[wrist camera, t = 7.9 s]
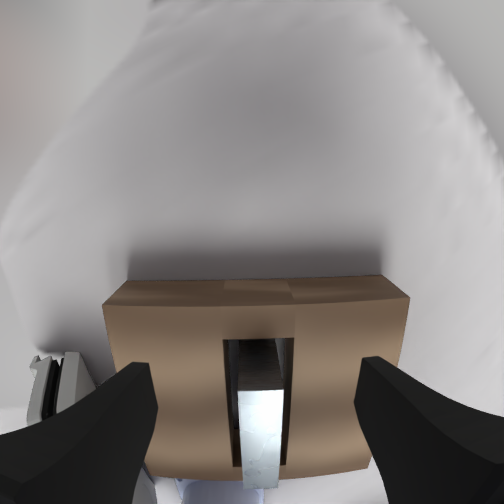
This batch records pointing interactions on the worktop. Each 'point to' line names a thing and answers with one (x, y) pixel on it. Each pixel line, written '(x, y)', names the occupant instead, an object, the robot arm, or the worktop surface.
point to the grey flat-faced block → (260, 412)
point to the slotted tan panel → (218, 367)
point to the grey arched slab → (71, 402)
